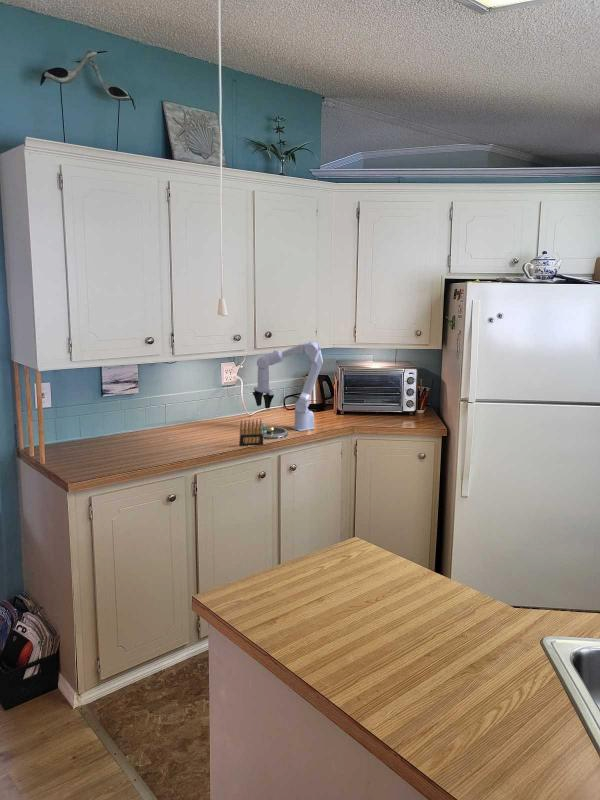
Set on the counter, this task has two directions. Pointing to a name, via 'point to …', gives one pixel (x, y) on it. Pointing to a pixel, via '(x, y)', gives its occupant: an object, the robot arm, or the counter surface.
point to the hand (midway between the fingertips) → (263, 407)
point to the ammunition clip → (253, 438)
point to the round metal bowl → (275, 433)
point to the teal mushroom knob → (264, 429)
